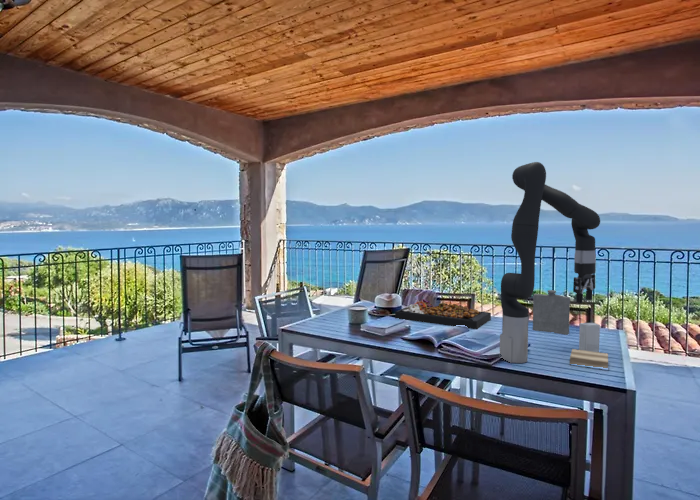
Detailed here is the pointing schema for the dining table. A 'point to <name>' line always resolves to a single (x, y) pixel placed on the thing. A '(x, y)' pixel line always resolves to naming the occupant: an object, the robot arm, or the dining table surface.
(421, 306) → the food platter
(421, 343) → the dining table surface
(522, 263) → the robot arm
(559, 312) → the hip flask
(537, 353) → the dining table surface
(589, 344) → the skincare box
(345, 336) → the dining table surface
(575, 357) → the oak stand
